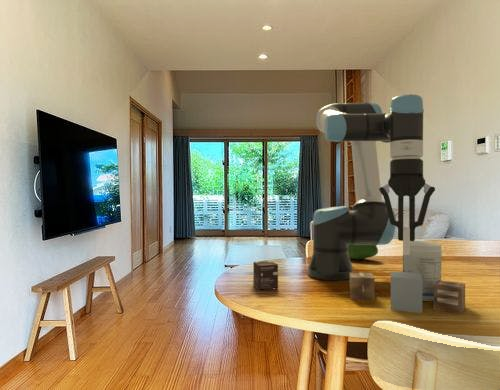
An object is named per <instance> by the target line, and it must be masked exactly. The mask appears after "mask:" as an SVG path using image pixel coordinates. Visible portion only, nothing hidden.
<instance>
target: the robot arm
mask: <svg viewBox="0 0 500 390" xmlns="http://www.w3.org/2000/svg"><path fill="white" fill-rule="evenodd" d="M424 111H425V109H424V102H423V97H422V96H421V95H419V94H401V95H397V96H394V97H392V99H391V100H390V105H389V112H387V113H386V112H385V113H384V112H383V110H382V108H381V106H380V105H379V104H378V103H376V102H369V101H368V102H367V101H365V102H337V103H330V104H327V105H325V106H323V107H321V108H320V109H318V111H317V112H316V115H315V116H314V123H315V124H314V125H315V127H316V128H317V129H318V130H319V131H320V132H321V133H324V138H325V140H326V141H328V142H336V143H340V142H349V143H351V152H352V153H351V155H352V166H353V178H354V179H353V180H354V192H355V200H356V201H355V203H354V204H353V205H352V206H351V207H352V210H351V209H350V208H349V207H348V206H347V205H341V206H331V207H324V208H319V209H316V210H315V211H314V212H313V218H312V219H313V220H312V226H313V229H312V230H313V233H312V235H313V236H312V241H313V242H312V243H313V244H312V245H313V246H312V255H311V258H310V261H309V264H308V267H307V275H308V277H310V278H313V279H317V280H323V281H324V280H326V281H346V280H350V272H353V273H355V272H354V268H353V264H352V261H351V258H349V255H348V245H375V246H377V247H378V246H381V245H382V246H383V245H386V246H387V245H388V244H390V243H391V242H392V241H393V238H394V236H395V232H396V228H397V240H398V241H400V242H402V256H403V255H410V241H416V228H418V227H422V226H423V225H424V221H425V218H426V215H427V214H426V213H427V211H428V207H429V203H430V199H431V196H432V195H433V194H434V192H435V191H436V187H434V186H431V185H430V184H428V183H426V178H424V160H423V159H421V158H422V157H424V138H423V137H424ZM376 142H381V143H386V144H388V143H389V154H390V155H389V156H390V157H389V158H391V160H390V162H389V179H388V181H387V184H385V185H383V186H381V178H380V177H381V176H380V170H379V168H380V167H379V160H378V152H377V151H378V150H377V149H378V148H377V143H376ZM390 189H391V190H392V191H393V193H394V194H395V195H396V196H397V218H396V214H395V212H394V211H393V207H392V202H391V199H390V195H389V193H390ZM422 189H423V193H424V196H423V199H422V202H421V206H420V211H419V213H418V218H417V220H416V196H417V195H418V194H419V193H420V191H421V190H422ZM382 196H383V197H382ZM404 197H408V202H409V203H408V208H409V209H408V217H409V218H408V222H409V223H408V227H405V226H404V199H405V198H404ZM383 199H384V200H383Z"/></svg>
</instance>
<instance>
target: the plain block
mask: <svg viewBox="0 0 500 390" xmlns="http://www.w3.org/2000/svg"><path fill="white" fill-rule="evenodd" d="M390 310H391V311H400V312H409V313H419V314H423V301H422V277H421V273H409V272H403V271H394V270H391V271H390Z"/></svg>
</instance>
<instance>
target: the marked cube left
mask: <svg viewBox="0 0 500 390" xmlns="http://www.w3.org/2000/svg"><path fill="white" fill-rule="evenodd" d="M353 272H354V271H353ZM353 272H350V279H349V296H350V300H354V301H371V302H375V300H376V299H375V287H376V286H375V285H376V284H375V276H374V274H373V273H371V272H354V273H353Z"/></svg>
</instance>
